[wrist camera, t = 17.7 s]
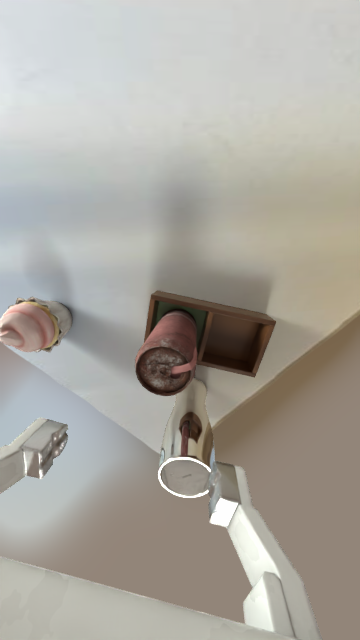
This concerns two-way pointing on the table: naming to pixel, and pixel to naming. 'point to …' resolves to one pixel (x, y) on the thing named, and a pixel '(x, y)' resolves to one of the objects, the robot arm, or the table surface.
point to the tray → (219, 332)
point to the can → (169, 354)
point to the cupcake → (34, 324)
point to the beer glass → (187, 444)
